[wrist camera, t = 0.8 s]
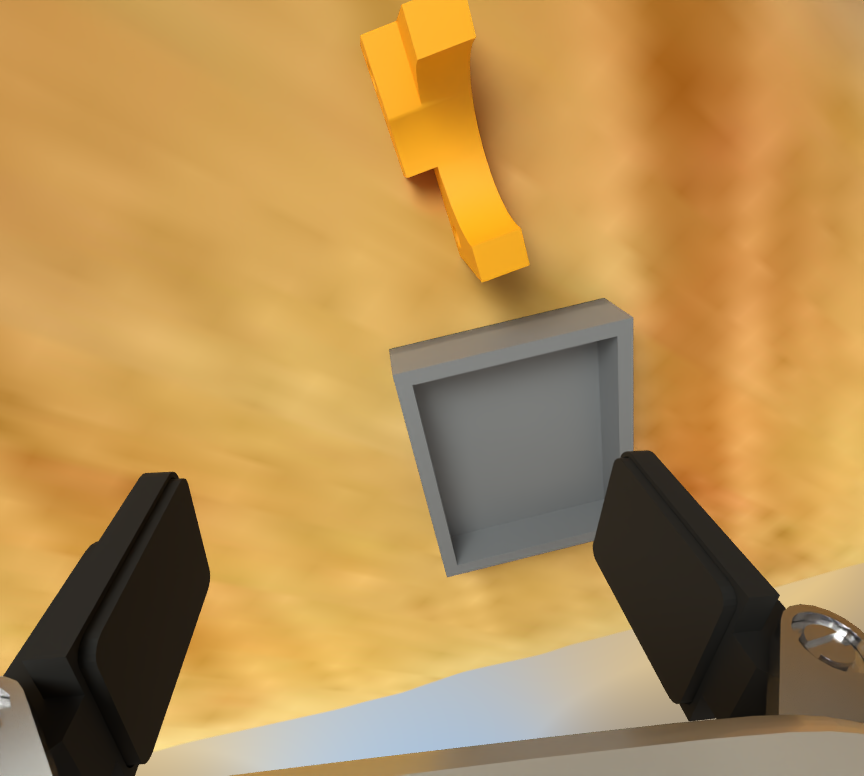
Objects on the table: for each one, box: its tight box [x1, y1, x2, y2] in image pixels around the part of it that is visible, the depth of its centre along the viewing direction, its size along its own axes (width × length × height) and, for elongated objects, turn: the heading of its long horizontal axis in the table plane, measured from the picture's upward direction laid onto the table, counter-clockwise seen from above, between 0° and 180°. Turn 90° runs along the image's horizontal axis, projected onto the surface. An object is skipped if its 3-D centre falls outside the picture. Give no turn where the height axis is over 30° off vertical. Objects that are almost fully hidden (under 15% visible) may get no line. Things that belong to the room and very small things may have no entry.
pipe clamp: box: [360, 0, 530, 282], centre depth 25 cm, size 12×4×6 cm, turn 19°
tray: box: [389, 298, 633, 577], centre depth 36 cm, size 15×18×4 cm
